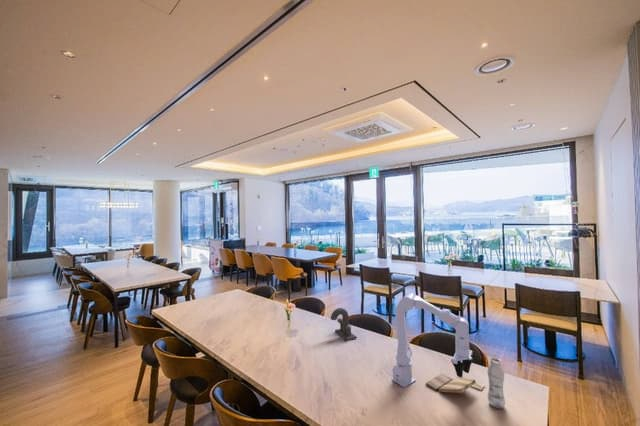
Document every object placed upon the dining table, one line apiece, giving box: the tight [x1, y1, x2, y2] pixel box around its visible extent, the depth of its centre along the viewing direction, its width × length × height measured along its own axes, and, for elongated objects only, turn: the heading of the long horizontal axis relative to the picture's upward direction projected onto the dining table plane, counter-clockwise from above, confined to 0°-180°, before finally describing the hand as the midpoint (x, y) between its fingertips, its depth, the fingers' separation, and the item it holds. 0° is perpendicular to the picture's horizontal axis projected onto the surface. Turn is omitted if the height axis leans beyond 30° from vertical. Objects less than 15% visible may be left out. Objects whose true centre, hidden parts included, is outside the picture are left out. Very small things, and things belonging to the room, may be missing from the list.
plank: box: [454, 376, 486, 392], centre depth 137 cm, size 5×12×1 cm, turn 44°
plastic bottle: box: [486, 357, 506, 410], centre depth 121 cm, size 6×7×20 cm
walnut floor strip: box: [425, 373, 453, 392], centre depth 137 cm, size 14×6×1 cm, turn 125°
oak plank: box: [438, 378, 477, 394], centre depth 130 cm, size 13×12×1 cm
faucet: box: [330, 307, 358, 342], centre depth 194 cm, size 18×16×20 cm
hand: (462, 374), depth 127 cm, fingers open, 5 cm apart
